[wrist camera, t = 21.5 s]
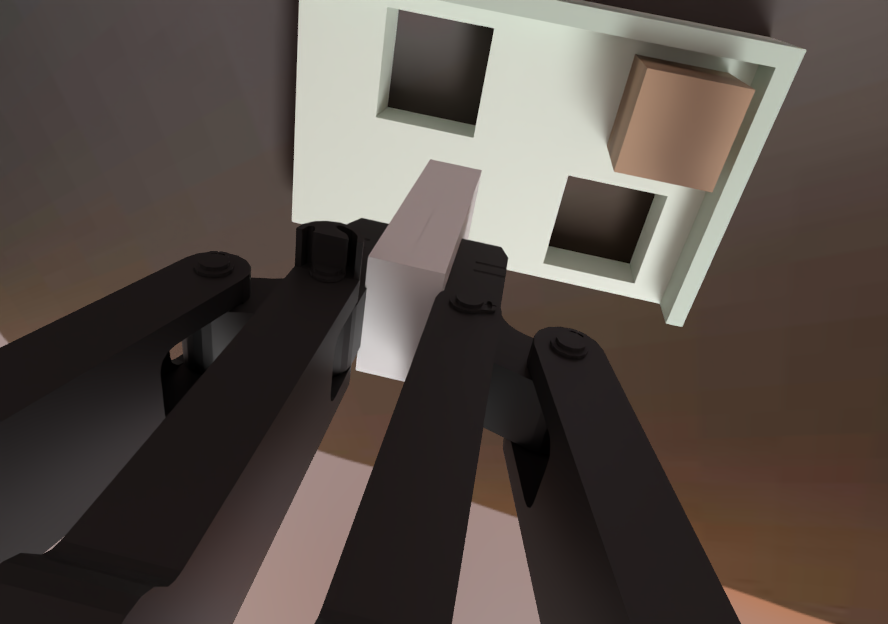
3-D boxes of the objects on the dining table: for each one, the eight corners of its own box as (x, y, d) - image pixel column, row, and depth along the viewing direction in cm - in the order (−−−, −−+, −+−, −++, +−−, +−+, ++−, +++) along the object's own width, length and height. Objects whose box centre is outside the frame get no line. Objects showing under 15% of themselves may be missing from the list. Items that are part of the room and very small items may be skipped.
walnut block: (606, 145, 35) (613, 171, 30) (635, 54, 32) (647, 68, 28) (692, 163, 34) (712, 192, 30) (728, 72, 32) (755, 89, 27)
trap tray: (307, 206, 43) (277, 236, 38) (319, -52, 34) (282, -54, 30) (667, 285, 41) (681, 326, 37) (770, 37, 33) (806, 49, 28)
